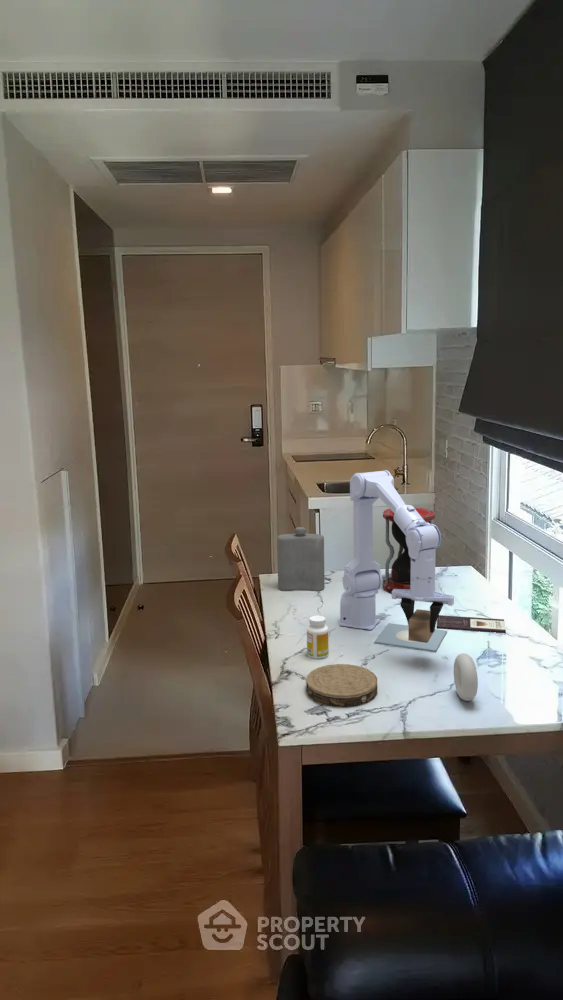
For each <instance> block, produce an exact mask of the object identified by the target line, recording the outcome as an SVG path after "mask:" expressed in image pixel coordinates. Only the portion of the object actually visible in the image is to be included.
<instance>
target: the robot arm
mask: <svg viewBox="0 0 563 1000" xmlns="http://www.w3.org/2000/svg"><path fill="white" fill-rule="evenodd" d="M349 496H350V501H352V505H353V506H352V508H353V509H352V511H353V515H352V517H353V518H352V519H353V522H352V523H353V524H352V525H353V527H352V528H353V558H352V559H351V560H350V561H349V562H348V563H347V564H345V565H344V570H343V571H344V572H343V577H342V586H343V589H344V591H343V592H342V594H341V596H340V604H339V605H340V606H339V611H340V612H339V614H340V616H339V617H340V621H339V622H340V623H339V626H340V627H341V626H342V627H346V628H348V627H349V628H355V629H360V630H361V629H362V630H369V631H373V630H374V628H376V626H377V625H378V624H379V622H381V618H377V617H376V609H377V608H376V607H377V606H376V601H377V600H376V596H377V594H379V590H380V589H381V588H382V587H383V575H382V571H381V565H380V564H379V563H378V562H377V561H375V560H374V559H373V558H374V557H373V554H374V553H373V552H374V551H373V548H374V545H373V540H374V539H373V537H374V536H373V533H374V532H373V530H374V529H373V526H374V525H373V514H374V513H373V504H374V503H375V502H376V501H378V500H379V499H380V500H381V501H382V502H383V503H384V504H385V505H386V506H387V508H388V509H391V510H392V511H393V512H394V513H395V514H394V521H395V522H396V524H397V525H398V526H399V528H400V529H401V530H402V531H403V533H404V534H405V535H406V543H407V546H408V550H409V557H411V581H410V589H393V590H392V593H391V599H392V600H397V599H401V601H400V603H399V605H400V608H401V609H402V611H403V613H404V616H405V618H406V621H407V625H408V626H409V619H410V618H411V617H412V615H413V614H414V612H415V605H416V604H415V602H423V603H424V602H425V603H431V604H430V606H429V611H430V616H431V623H430V633H433V632H434V631H435V629H436V627H437V619H438V616H439V615H440V613H441V611H442V609H443V607H444V605H447V606H450V607H453V605H454V604H455V603H454V601H455V595H451V594H446V593H441V592H439V591H436V556H437V555H436V549H438V548H439V547H440V546H441V544H442V534H441V531H440V529H439V527H438V526H437V525H436V524H433V523H431V524H430V523H428V522H425V520H424V519H423V518H422V517H421V516H420V514H419V513H418V512H417V511H416V510H415V508H414V506H413V505H412V504H406V503H405V501H404V500H403V498H402V497H401V495H400V494H399V492H398V491H397V489H396V488H395V479H394V477H393V476H392V473H390V471H389V470H387V469H384V470H379V471H369V472H355V473H354V474H353V475H352V476H351V478H350V479H349Z"/></svg>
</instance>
